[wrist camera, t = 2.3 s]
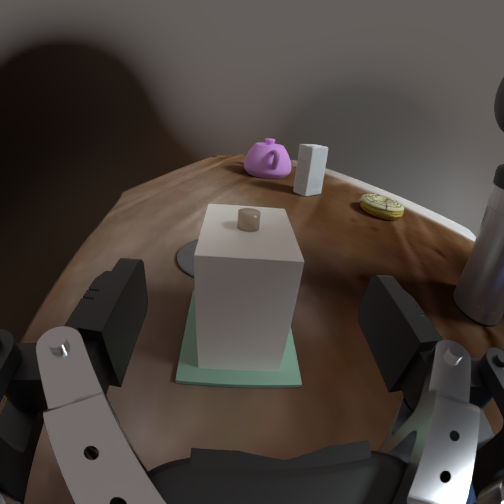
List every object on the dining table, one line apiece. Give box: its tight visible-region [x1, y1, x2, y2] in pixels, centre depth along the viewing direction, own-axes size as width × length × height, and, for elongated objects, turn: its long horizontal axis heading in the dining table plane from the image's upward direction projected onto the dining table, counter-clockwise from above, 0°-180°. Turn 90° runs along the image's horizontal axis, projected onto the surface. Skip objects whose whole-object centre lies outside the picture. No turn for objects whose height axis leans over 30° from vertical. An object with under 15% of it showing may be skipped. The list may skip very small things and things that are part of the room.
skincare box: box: [293, 144, 328, 196], centre depth 66 cm, size 6×4×12 cm
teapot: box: [244, 139, 291, 179], centre depth 82 cm, size 14×20×11 cm
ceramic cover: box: [194, 204, 304, 371], centre depth 23 cm, size 9×7×12 cm
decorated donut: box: [359, 194, 404, 221], centre depth 62 cm, size 10×11×4 cm
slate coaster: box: [177, 240, 198, 277], centre depth 38 cm, size 11×11×1 cm
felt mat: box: [175, 291, 302, 388], centre depth 26 cm, size 12×10×1 cm
